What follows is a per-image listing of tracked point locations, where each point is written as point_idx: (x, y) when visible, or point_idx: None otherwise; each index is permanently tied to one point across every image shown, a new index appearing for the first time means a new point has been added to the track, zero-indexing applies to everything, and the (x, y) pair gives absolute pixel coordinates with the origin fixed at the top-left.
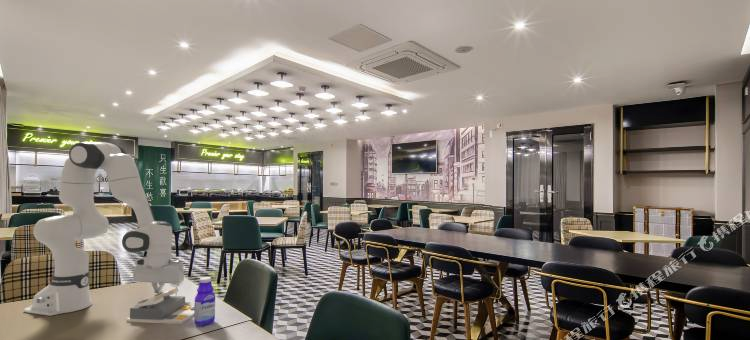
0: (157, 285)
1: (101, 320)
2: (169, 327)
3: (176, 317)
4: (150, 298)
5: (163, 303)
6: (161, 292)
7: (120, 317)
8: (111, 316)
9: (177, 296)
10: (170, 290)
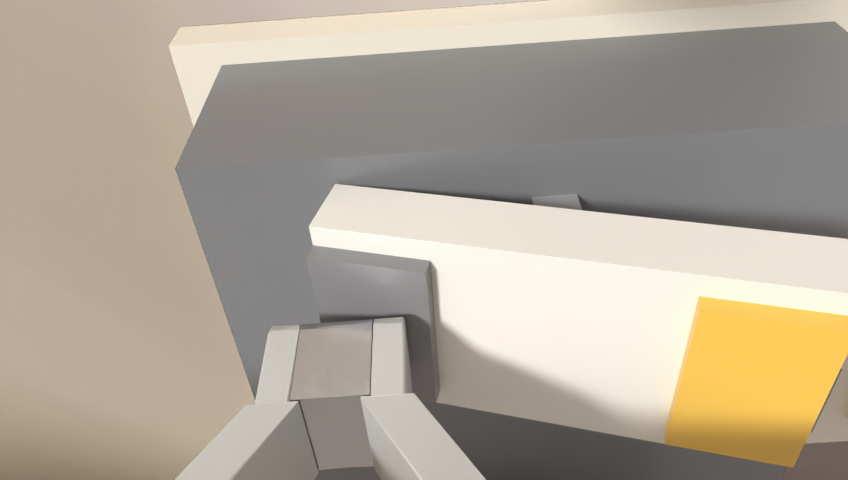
0: (250, 460)
1: (32, 460)
2: (809, 468)
3: (837, 381)
4: (249, 324)
5: (649, 442)
6: (395, 302)
7: (132, 392)
8: (2, 388)
9: (753, 145)
10: (695, 400)
